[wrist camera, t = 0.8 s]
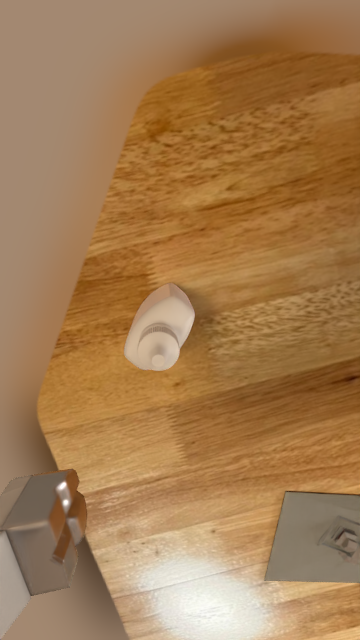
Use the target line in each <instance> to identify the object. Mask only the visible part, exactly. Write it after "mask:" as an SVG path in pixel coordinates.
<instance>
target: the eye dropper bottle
mask: <svg viewBox="0 0 360 640" xmlns="http://www.w3.org/2000/svg"><path fill="white" fill-rule="evenodd" d="M194 317H195V315H194V310H193V307H192V305H191V303H190V301H189V299H188V297H187V295H186V294H185V293H184V292H183V291H182V290H181V289H180V288H178V287H177V286H176V285H175V284H173V283H167V284H165V285H163V286H161V287H159V288H158V289H156V290H155V291H154V292H152V293H151V294H150V295H149V296H148V297H147V298H146V299H145V300H144V302H143V303H142V304H141V306H140V307H139V309H138V311H137V313H136V315H135V318H134V320H133V323H132V326H131V328H130V331H129V334H128V337H127V340H126V343H125V348H124V354H125V356H126V358H127V359H128V360H129V361H130V362H131V363H133V364H134V365H135V366H137V367H138V368H140V369H142V370H149V369H151V370H155V371H156V370H157V371H161V370H165V369H168V368H170V367H171V366H172V365H174V364H175V362H176V360H177V359H178V357H179V352H180V351H179V350H180V348H181V346H182V345H183V343H184V342H185V340H186V339H187V337H188V335H189V333H190V330H191V328H192V325H193V322H194Z"/></svg>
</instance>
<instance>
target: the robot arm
mask: <svg viewBox="0 0 360 640" xmlns="http://www.w3.org/2000/svg"><path fill="white" fill-rule="evenodd" d="M78 484H79V479H78V476H77V473H76V471H75V470H74V469H67V470H60V471H54V472H47V473H41V474H36V475H30V476H24V477H18V478H15V479H13V480H11V481H10V482H9V484H8V485H7V487H6V488H5V490H4V492H3V493H2V494H1V496H0V639H1V638H2V637H3V636H4V634H5V633H6V632H7V630H8V629H9V627H10V626H11V625H12V624H13V622H14V621H15V620H16V618H17V617H18V616H19V614H20V613H21V611H22V610H23V609H24V608H25V606H26V605H27V604H28V602H29V601H30V599H31V596H33V595H38V594H42V593H47V592H51V591H56V590H61V589H64V588H69V587H70V585H71V581H72V577H73V573H74V570H75V567H76V563H77V559H78V554H77V551H76V548H75V547H76V546H77V545H78V544H79V543H80V541H81V540H82V539H83V537H84V533H85V529H86V522H87V509H86V502H85V499H84V496H83V495H82V494H81V493H80V492H78V491H77V487H78Z"/></svg>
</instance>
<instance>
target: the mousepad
mask: <svg viewBox="0 0 360 640" xmlns="http://www.w3.org/2000/svg"><path fill="white" fill-rule="evenodd" d="M265 581H302V582H343V583H360V496H355V495H335V494H316V493H296V492H286V493H285V497H284V502H283V506H282V510H281V514H280V518H279V522H278V527H277V531H276V535H275V539H274V543H273V547H272V552H271V556H270V560H269V564H268V568H267V572H266V577H265Z"/></svg>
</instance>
